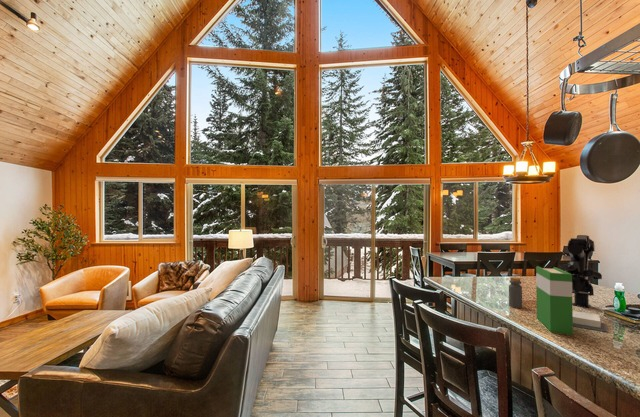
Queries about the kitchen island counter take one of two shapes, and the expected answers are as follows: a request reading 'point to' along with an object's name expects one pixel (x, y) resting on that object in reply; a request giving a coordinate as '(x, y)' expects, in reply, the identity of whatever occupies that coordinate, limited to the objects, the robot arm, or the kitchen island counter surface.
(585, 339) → the kitchen island counter surface
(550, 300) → the hardback book
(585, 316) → the tile
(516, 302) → the bottle
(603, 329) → the mat
